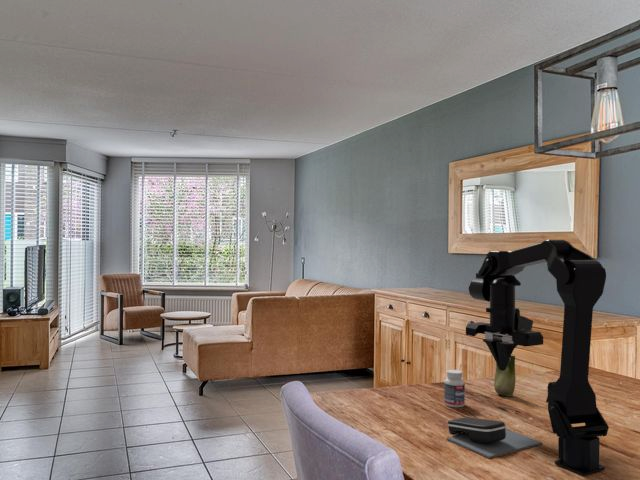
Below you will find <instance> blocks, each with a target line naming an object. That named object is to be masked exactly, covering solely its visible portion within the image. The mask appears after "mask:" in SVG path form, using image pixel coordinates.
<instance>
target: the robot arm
mask: <svg viewBox="0 0 640 480" xmlns="http://www.w3.org/2000/svg"><path fill="white" fill-rule="evenodd" d="M543 263H546V265H547V271H548V273H550V274H551V276H553V277H554V279H555V280H556V281H555V282H556V291H557V293H558V295H559V297H560V298H561V300H562V302H563V305H564V308H563V310H564V311H563V321H562V323H563V325H562V337H561V338H562V339H561V340H562V341H561V354H560V357H561V358H560V371H559V376H558V379H557V380H556V381H550V382H548V384H547V388H546V389H547V397H546V401H545V402H546V403H547V411H548V416H549V420H550V424H551V429H552V432H553V433H554V434H556V437H557V438H558V441H557V443H558V444H557V448H558V451H557V452H558V453H557V456H558V459H557V460H554V464H555V465H557V466H560V467H562V468H564V469H567V470H569V471H572V472H574V473H577V474H579V475H581V476H588V475H591V474H594V473H597V472H600V471H602V470H605V465H603V464H602V463H600V460H601V459H600V456H601V455H600V451H601V449H600V445H601V444H600V437H607V436H608V432H609V429H610V427H609V424H608V423H607V422H606V420H605V418H604V416H603V415H602V414H601V412H600V410H599V409H598V407H597V397H596V393H595V391H594V389H593V387H592V385H591V384H590V382H589V372H590V371H589V369H590V357H591V356H590V355H591V345H592V344H591V342H592V341H591V340H592V330H593V329H592V326H593V314H594V308H595V307H594V306H596V304H597V303H598V301H599V299H600V298H601V297H602V295H603V293H604V290H605V286H606V285H605V284H606V281H607V272H606V268H605V267H603V265H602V263H600V261H598V260H596V259H594V257H592V256H591V255H589V254H588V253H586V252H583V250H580V249H578V248H576V247H575V246H573V245H572V244H571V243H570V242H569V241H567V240H565V239H546V240H544V241H541V242H539V243H536V244H532V245H528V246H525V247H521V248H518V249H515V250H490V251H489V252H487V253H486V256H485V258H484V260H483V263H482V265H481V267H480V269H479V271H478V272H477V273H475V278H473V279H472V280H471V281H470V283H469V286H468V292H469V296H470V297H472V298H473V299H474V300H478V301H484V302H488V303H489V307H486V308H485V312H486V313H489V323H488V322H483V321H481V322H471V323H470V322H469V323H467V325H466V326H465V335H466V336H471V337H475V336H477V335H478V334H482V335H484V339H482V342H483V343H485V345H486V346H487V347H488V349H489V351H490V353H491V355H492V357H493V360H494V361H495V364H496V363H497V365H498V367H499V369H500V370H502V371H504V370H506V367H507V364H508V362H509V359H510V356H511V355H513V352H514V350H515V348H517V346H521V347H534V346H541V345H544V335H543V334H542V332H541V331H538V330H537V331H535V330H532V328H533V325H534V320H532V319H530V318H528V317H526V316H523V315H521V311H520V308H516V287H520V286H521V285H522V283H521V281H520V280H518V279H517V278H516V276H515V275H517V274H520V273H522V272H523V271H524V270H525V268H526V267H530V266H531V267H532V266H535V265H538V264H543ZM577 424H584V425H578V426H573V425H577Z"/></svg>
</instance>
